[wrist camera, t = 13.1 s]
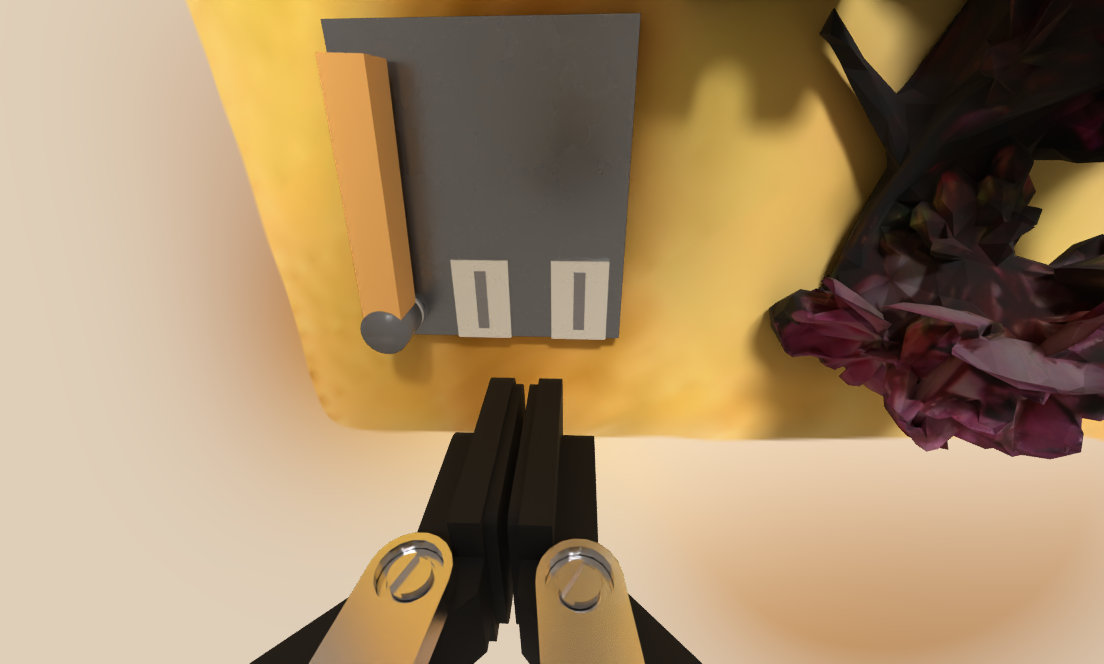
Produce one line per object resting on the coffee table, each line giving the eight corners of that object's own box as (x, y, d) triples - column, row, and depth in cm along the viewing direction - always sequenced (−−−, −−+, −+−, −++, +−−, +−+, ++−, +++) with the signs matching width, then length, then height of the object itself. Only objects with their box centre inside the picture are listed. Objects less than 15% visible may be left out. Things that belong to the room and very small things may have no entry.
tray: (331, 22, 26) (315, 17, 25) (637, 17, 25) (641, 11, 24) (388, 326, 35) (380, 336, 34) (617, 331, 34) (619, 341, 33)
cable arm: (424, 335, 33) (410, 354, 31) (382, 333, 33) (364, 352, 31) (392, 59, 25) (370, 53, 23) (337, 57, 26) (308, 51, 23)
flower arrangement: (864, -181, 21) (1386, -670, 8) (1299, -191, 21) (2652, -728, 7) (741, 377, 35) (850, 545, 22) (997, 378, 35) (1267, 550, 22)
